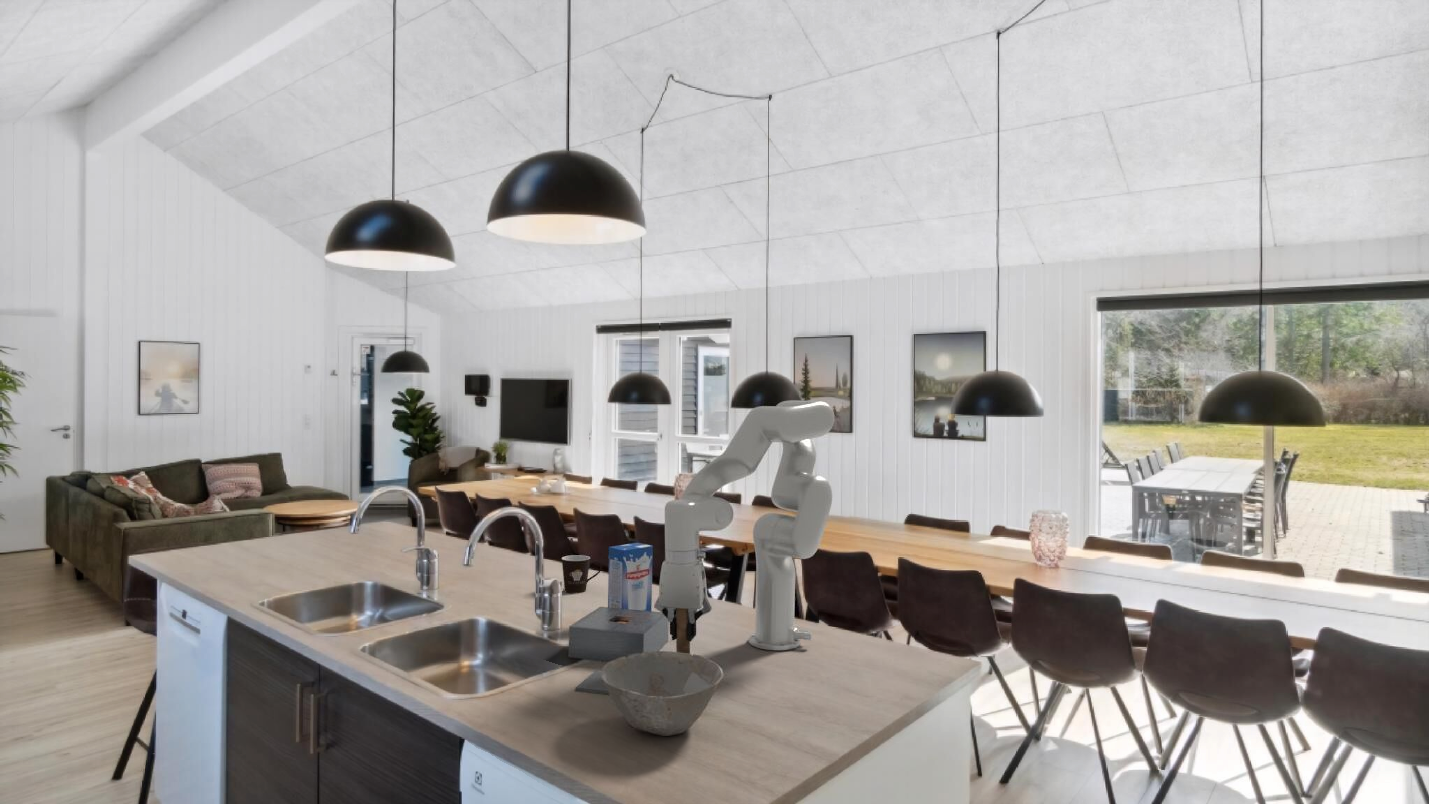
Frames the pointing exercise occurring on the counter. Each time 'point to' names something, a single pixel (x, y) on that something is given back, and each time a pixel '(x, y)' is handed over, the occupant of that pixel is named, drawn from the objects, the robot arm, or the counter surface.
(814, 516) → the robot arm
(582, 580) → the coffee mug
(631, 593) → the milk carton
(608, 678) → the ceramic bowl
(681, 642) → the dowel
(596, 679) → the mat
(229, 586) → the counter surface
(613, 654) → the box
